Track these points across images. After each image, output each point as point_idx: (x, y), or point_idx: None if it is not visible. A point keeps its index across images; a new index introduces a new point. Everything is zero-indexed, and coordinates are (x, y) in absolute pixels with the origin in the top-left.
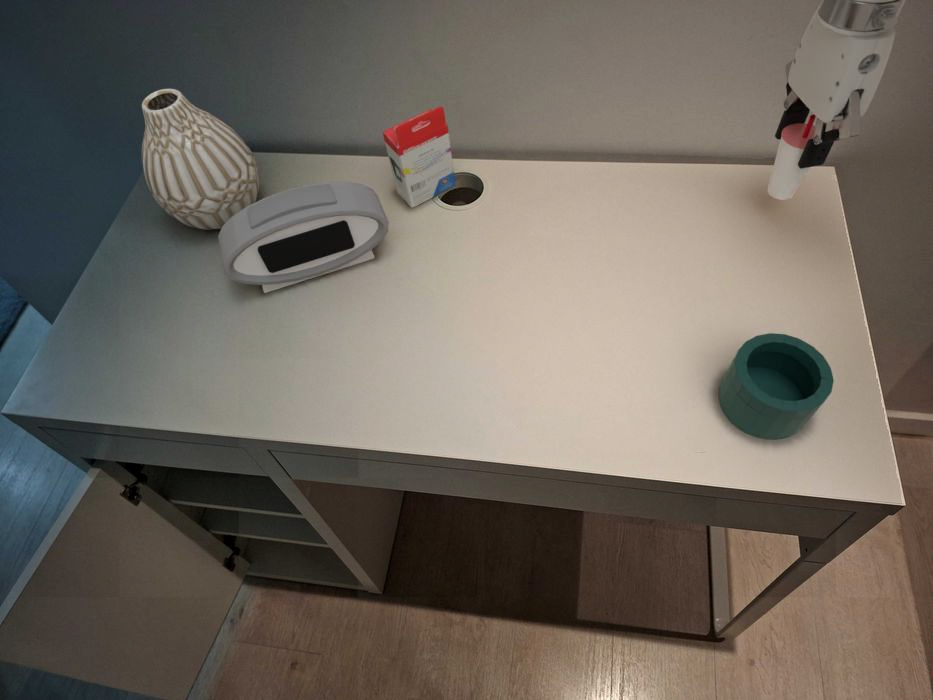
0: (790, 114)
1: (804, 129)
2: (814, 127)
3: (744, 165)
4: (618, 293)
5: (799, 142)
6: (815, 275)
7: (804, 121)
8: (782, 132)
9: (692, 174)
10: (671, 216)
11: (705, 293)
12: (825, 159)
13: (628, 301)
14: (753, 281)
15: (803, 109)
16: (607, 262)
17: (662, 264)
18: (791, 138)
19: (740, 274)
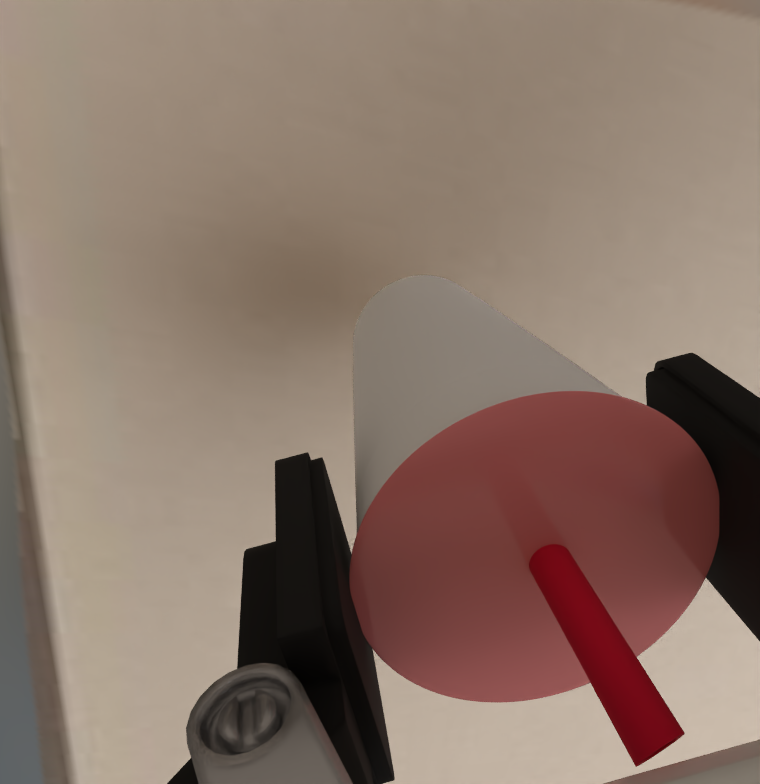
0: (389, 763)
1: (447, 550)
2: (431, 473)
3: (22, 348)
4: (675, 742)
5: (611, 604)
6: (748, 174)
7: (332, 540)
8: (462, 693)
9: (121, 563)
10: None
11: None
12: (712, 367)
13: (707, 720)
14: None
15: (340, 686)
16: (561, 773)
17: None
18: (555, 651)
19: None
